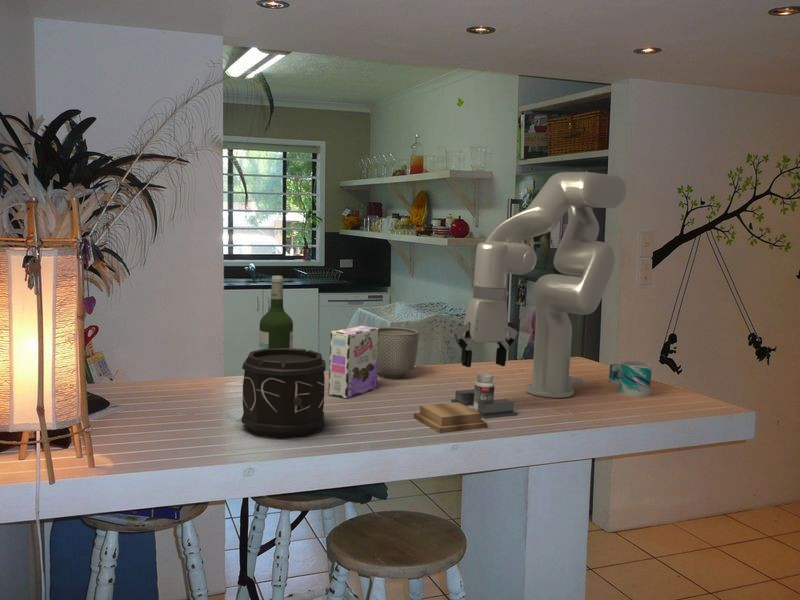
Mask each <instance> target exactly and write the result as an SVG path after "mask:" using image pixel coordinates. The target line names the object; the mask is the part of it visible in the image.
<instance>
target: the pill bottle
mask: <svg viewBox="0 0 800 600" xmlns="http://www.w3.org/2000/svg"><path fill="white" fill-rule="evenodd" d="M493 381H494V374H492V373H489V372H477V374H476V381H475V383H474V389H475V390H474V405H473V409H474V410H476V411H478V401H486V400H495V399H494V396H495V382H493Z"/></svg>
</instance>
